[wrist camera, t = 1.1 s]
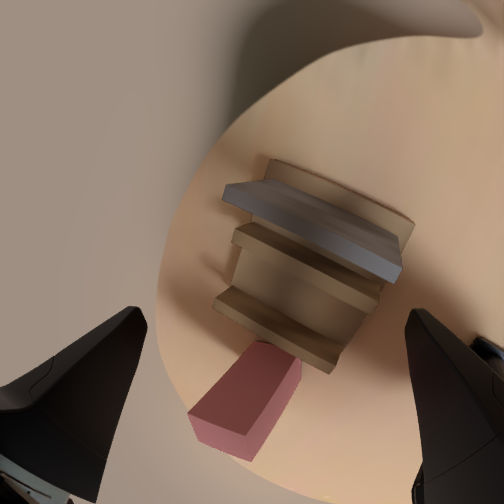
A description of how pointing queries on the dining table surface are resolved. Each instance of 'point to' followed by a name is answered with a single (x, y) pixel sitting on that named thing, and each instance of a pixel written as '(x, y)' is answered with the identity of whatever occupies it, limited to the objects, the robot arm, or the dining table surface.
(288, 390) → the red rectangular block
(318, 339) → the rack
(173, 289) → the dining table surface
